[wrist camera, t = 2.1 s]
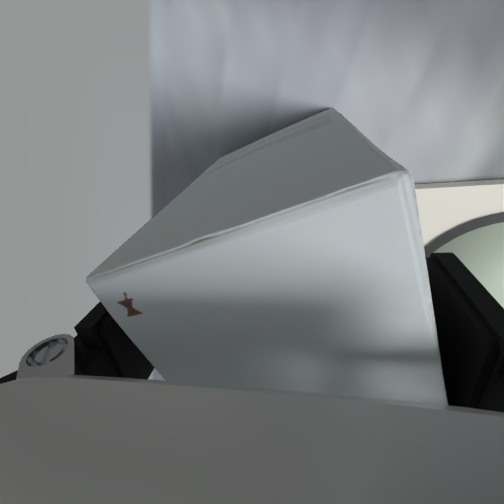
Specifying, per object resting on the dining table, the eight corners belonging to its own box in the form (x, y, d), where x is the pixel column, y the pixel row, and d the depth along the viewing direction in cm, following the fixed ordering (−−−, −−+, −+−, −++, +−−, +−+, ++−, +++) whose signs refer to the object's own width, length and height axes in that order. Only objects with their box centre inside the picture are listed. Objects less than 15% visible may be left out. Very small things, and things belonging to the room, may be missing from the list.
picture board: (381, 186, 16) (385, 192, 16) (696, 167, 14) (722, 173, 13) (363, 352, 23) (365, 362, 23) (569, 363, 20) (581, 375, 20)
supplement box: (262, 255, 20) (211, 448, 10) (216, 155, 17) (66, 277, 7) (370, 225, 18) (461, 440, 7) (339, 102, 15) (416, 159, 4)
